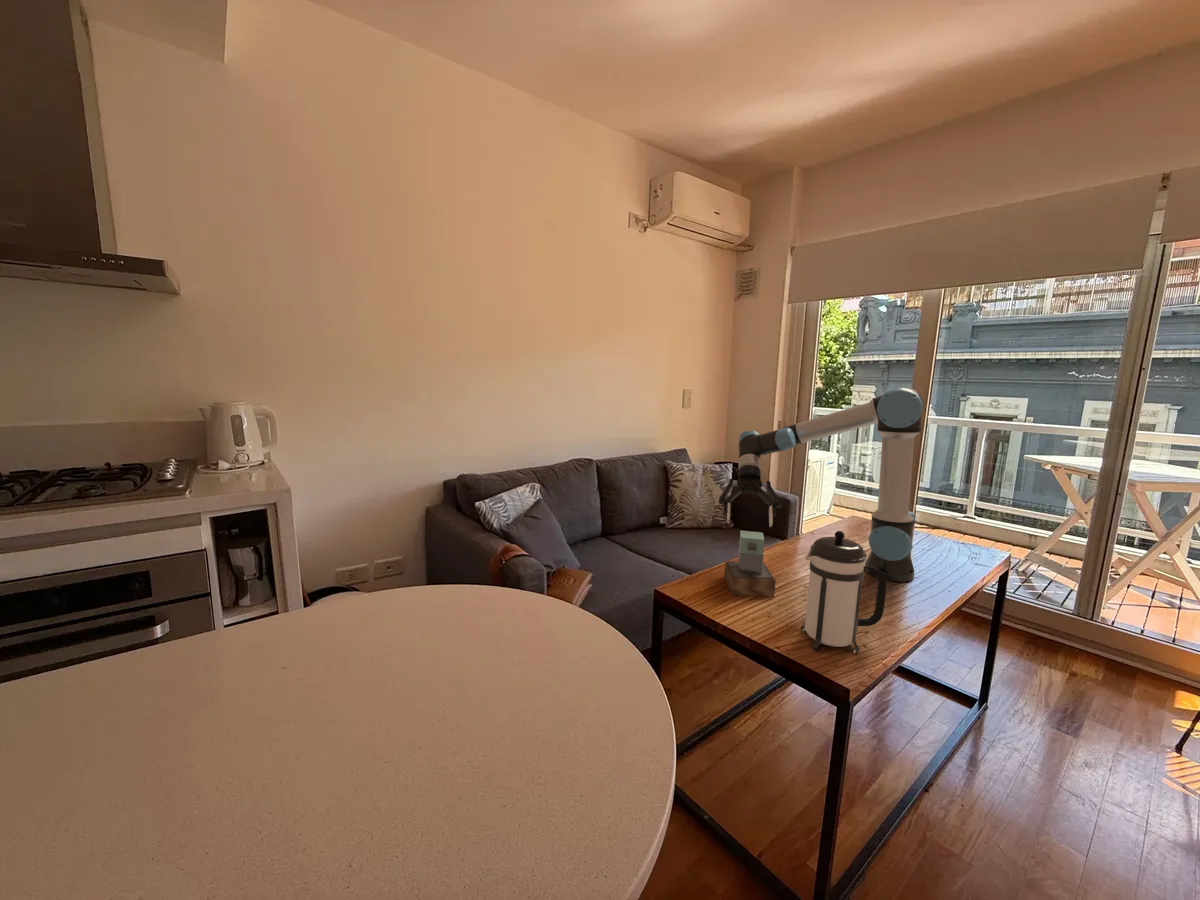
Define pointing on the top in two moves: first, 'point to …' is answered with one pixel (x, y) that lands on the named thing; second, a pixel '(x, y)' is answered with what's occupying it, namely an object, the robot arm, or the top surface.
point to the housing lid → (751, 542)
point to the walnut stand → (749, 581)
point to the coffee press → (838, 592)
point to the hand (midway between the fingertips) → (749, 523)
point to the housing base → (750, 563)
